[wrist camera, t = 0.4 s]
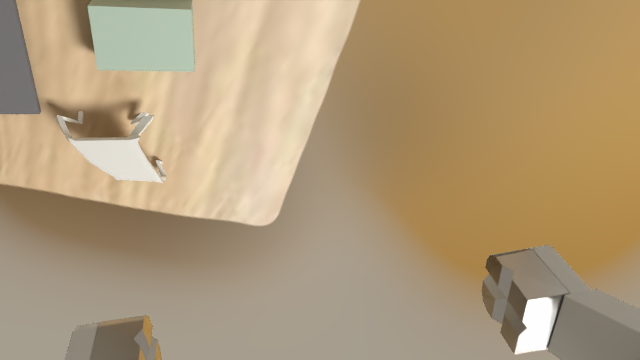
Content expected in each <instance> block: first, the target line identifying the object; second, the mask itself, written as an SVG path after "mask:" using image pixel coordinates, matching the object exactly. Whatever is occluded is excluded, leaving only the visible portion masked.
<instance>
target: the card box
mask: <svg viewBox="0 0 640 360" xmlns="http://www.w3.org/2000/svg"><path fill="white" fill-rule="evenodd" d="M87 7H88V13H89V19H90V26H91V32H92V39H93V45H94V52H95V58H96V64H97V70H114V71H185V72H194V68H195V50H194V29H193V8H192V0H91V2H90V3H89V4H88V6H87Z"/></svg>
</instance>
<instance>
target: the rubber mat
mask: <svg viewBox="0 0 640 360" xmlns="http://www.w3.org/2000/svg"><path fill="white" fill-rule="evenodd" d="M40 112H41V110H40V105H39V101H38V97H37V92H36V88H35V83H34V79H33V75H32V70H31V66H30V61H29V57H28V53H27V48H26V44H25V39H24V35H23V31H22V26H21V22H20V18H19V13H18V9H17V4H16V0H0V114H40Z"/></svg>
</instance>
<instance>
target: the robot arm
mask: <svg viewBox="0 0 640 360" xmlns="http://www.w3.org/2000/svg"><path fill="white" fill-rule="evenodd" d="M485 268H486V269H487V270H488V272H489V275H488V276H487V277H486V278H485V279H484V280H483V285H482V296H483V302H484V304H485V307H486V309H487V311H488V313H489V314H490V316H491V318H492V319H494V320H496V321H497V322H500V323H501V324H502V327H501V334H502V336H503V337H504V339H505V340H506V342H507V343H508V345H509V347H510V348H511V350H512V352H513V353H514V354H520V353H526V352H531V351H537V350H543V349H548V351H549V352H550V353H552V354H553V355H555V356H556V357H558V358H559V359H560V360H640V309H639V308H637V307H635V306H632V305H630V304H628V303H626V302H624V301H622V300H619V299H617V298H615V297H613V296H611V295H608V294H606V293H604V292H602V291H600V290H598V289H594V290H591V289H590V288H589V287H588V286H587V285H586V284H585V283H584V282H583V281H582V279H581V278H580V277H579V276H578V275H577V274H576V273H575V272H574V270H573V269H572V268H570V266H569V265H568V264H567V263H566V262H565V261H564V259H563V258H562V257H561V256H560V255H559V254H558V253H557V252H556V251H555V249H554V248H553V247H551V246H549V245H544V246H539V247H533V248H528V249H522V250H516V251H511V252H506V253H500V254H495V255H490V256H489V258H488V259H487V262H486V267H485ZM152 327H153V326H152V323H151V320H150V318H149V316H147V315H144V316H137V317H130V318H124V319H117V320H110V321H103V322H100V323H93V324H86V325H79V326H77V327H76V328H75V330H74V331H73V333H72V337H71V340H70V343H69V347H68V351H67V354H66V358H65V360H162V358H161V352H160V347H159V344H158V340H157V339H156V338H154V337H152Z"/></svg>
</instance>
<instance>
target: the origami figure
mask: <svg viewBox="0 0 640 360" xmlns="http://www.w3.org/2000/svg"><path fill="white" fill-rule="evenodd" d="M83 116H84V114H83V112H82V111H79V112H78V121H77V120H74V119H70V118H67V117H63V116H60V115H57V116H56V120H57V122H58V124H59V126H60V128H61V130H62V131H63V133H64V135H65V136H66V138H67V139H68V141H69V142H70V143H71V144H72V145H73V146H74V147H75V148H76V149H77V150H78V151H79V152H80V153H81V154H82V155H83V156H84V157H85V158H86V159H87V160H88V161H89V162H90V163H92V164H93V165H95V166H96V167H98V168H100V169H101V170H103V171H104V172H106V173H108V174H109V175H111V176H113V177H114V178H115V179H116V180H117V181H118V180H135V181H155V182H160V183H163V180H166V178H167V176H166V174H165V172H164V170H163V168H162V166H161V164H162V161H159V160H156V163H157V166H158V169H159V172H160V175H161V176H160V175H159V174H158V172H157V171H156V169H155V168H154V167H153V166H152V164H151V163H150V162H149V161H148V159H147V158H146V156H145V155H144V153H143V151H142V150H141V148H140V146H139V144H138V143H137V142H138V141H139V139H140V136H139V135H140V134H141V133H142V132H143V131H144V130H145V128H146V127H147V126H148V125H149V124H150V122H151V121H152V120H153V117H154V115H152V116H148V112H147V113H140V114H139V115H138V116H137V117H136V118H135V119H134V120H133V121H132V122H131V124H138V125H137V126H136V127H135V129H134V130H133V131H132V133H131V134H130V135H129V137H105V138H72V136H71V135H70V132H69V130H68V128H67V126H66V124H65V121H67V122H73V123H78V124H83Z"/></svg>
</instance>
